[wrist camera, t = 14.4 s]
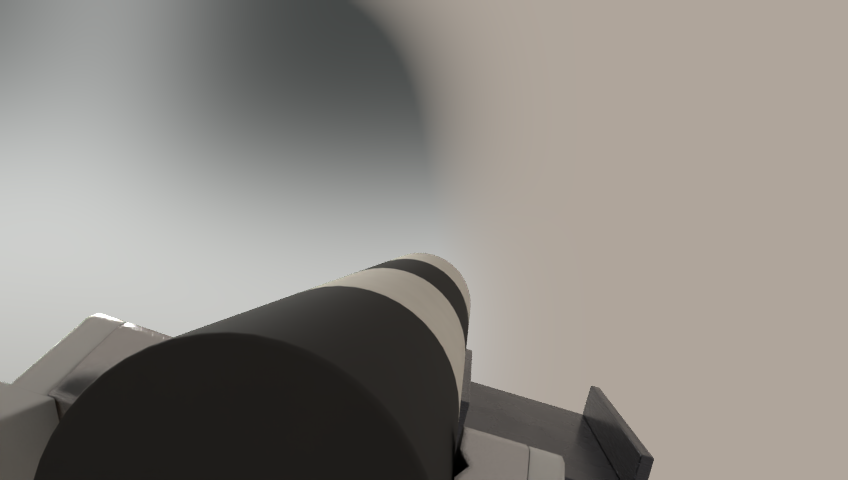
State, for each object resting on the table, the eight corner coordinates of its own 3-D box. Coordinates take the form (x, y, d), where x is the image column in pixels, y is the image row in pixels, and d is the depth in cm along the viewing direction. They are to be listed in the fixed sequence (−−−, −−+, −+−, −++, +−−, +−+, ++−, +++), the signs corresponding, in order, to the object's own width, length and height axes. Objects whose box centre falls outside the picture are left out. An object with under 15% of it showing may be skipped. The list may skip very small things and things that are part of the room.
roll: (377, 826, 6) (495, 405, 6) (-21, 682, 6) (78, 281, 6) (455, 365, 26) (482, 268, 26) (359, 337, 26) (385, 241, 26)
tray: (443, 448, 27) (457, 399, 27) (453, 382, 39) (463, 348, 39) (639, 509, 27) (654, 458, 27) (589, 422, 39) (599, 387, 39)
